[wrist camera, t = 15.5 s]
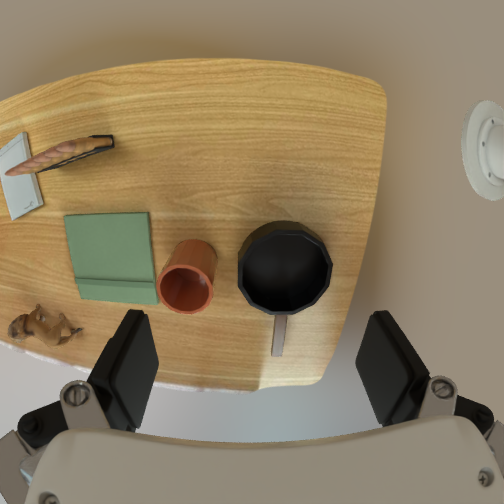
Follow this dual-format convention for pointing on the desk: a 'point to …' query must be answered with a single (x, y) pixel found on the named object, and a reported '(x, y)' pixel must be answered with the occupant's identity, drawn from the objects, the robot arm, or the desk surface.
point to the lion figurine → (39, 330)
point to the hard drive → (18, 178)
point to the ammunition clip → (63, 154)
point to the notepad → (112, 256)
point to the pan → (283, 272)
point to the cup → (188, 277)
